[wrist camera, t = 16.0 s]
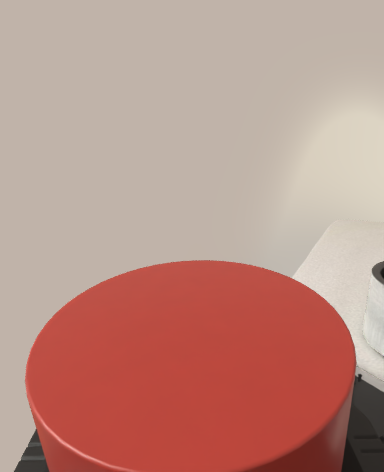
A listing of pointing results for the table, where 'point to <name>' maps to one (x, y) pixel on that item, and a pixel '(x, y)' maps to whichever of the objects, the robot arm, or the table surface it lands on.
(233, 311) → the red tin
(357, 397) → the picture frame
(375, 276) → the planter
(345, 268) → the table surface
